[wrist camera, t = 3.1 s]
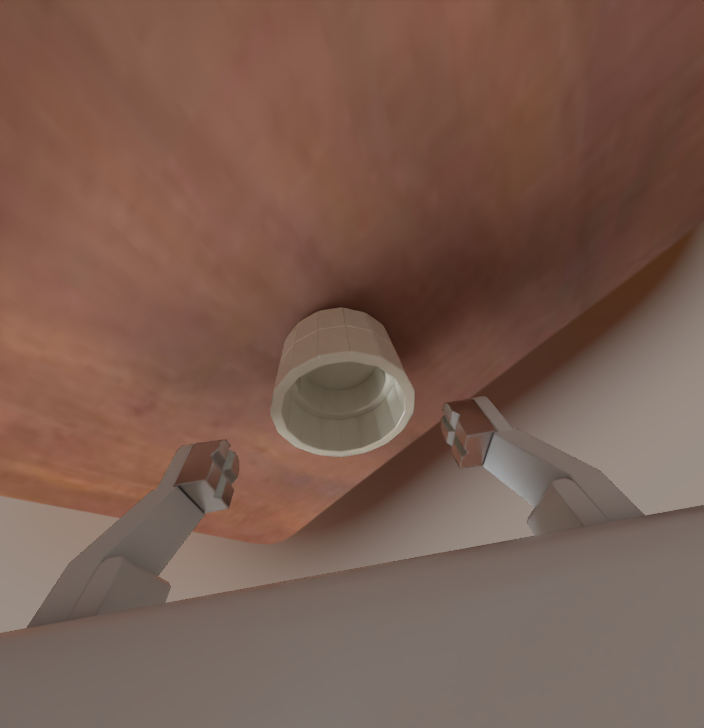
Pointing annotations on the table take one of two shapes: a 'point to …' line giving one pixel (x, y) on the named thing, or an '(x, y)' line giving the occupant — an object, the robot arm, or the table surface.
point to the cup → (340, 385)
